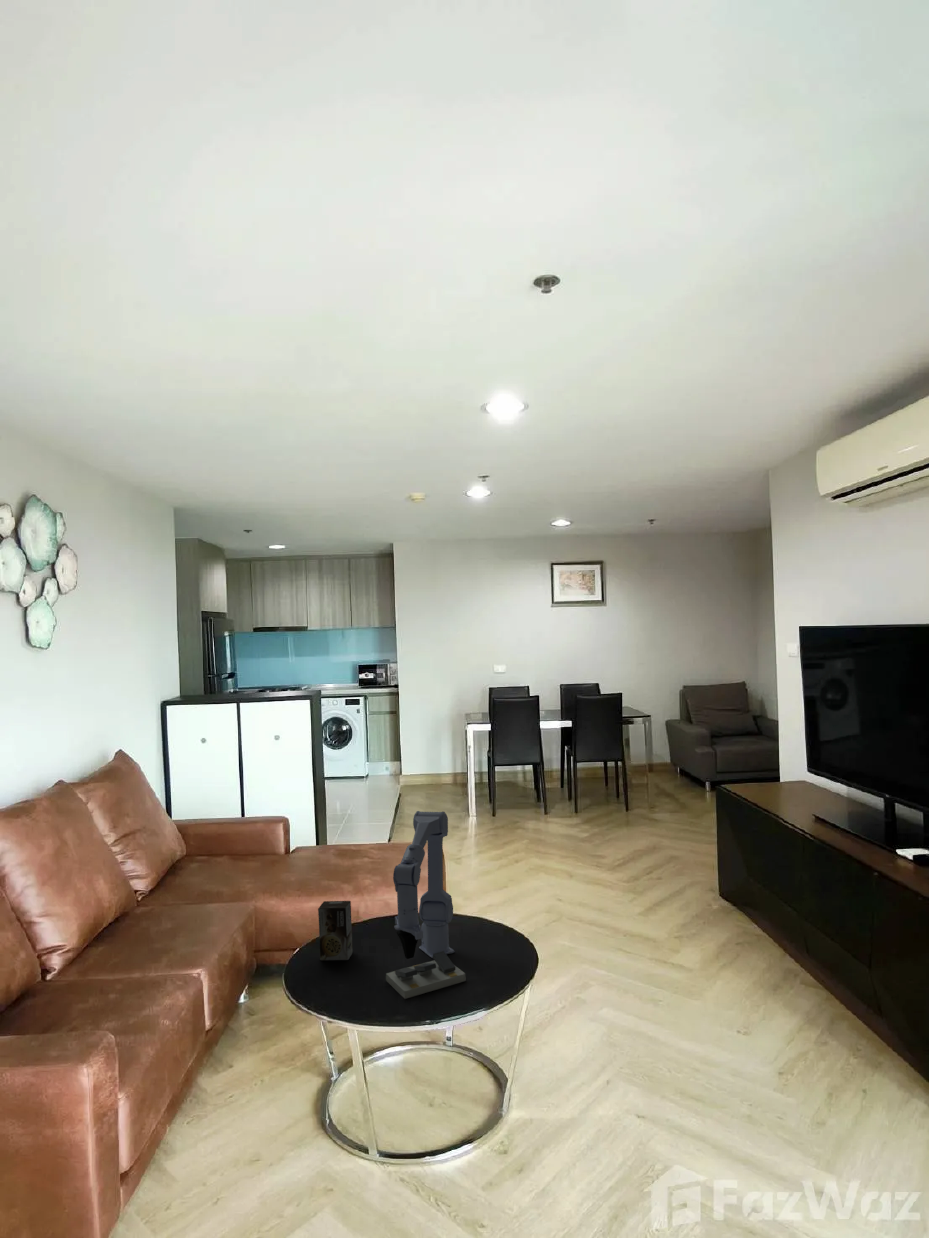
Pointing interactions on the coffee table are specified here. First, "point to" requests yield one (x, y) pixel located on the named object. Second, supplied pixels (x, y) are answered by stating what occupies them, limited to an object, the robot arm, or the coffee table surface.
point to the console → (424, 981)
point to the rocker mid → (425, 966)
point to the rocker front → (406, 972)
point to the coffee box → (335, 930)
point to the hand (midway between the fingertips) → (409, 957)
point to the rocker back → (444, 962)
